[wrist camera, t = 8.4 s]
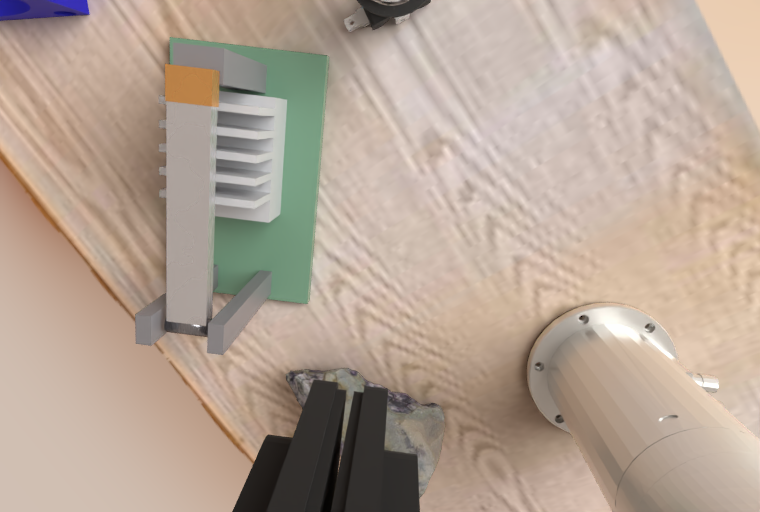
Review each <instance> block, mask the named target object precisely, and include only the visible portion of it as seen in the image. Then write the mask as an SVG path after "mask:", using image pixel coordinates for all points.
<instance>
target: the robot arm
mask: <svg viewBox="0 0 760 512" xmlns="http://www.w3.org/2000/svg"><path fill="white" fill-rule="evenodd" d="M582 315H583V317H582V318H579V317H580V316H582ZM538 362H539V363H538ZM536 363H538V364H536ZM527 382H528V388H529V390H530V393H531V396H532V398H533V400H534V402H535V404H536V406H537V408H538V409H539V411H540V412H541V413H542V414H543V415H544V417H545V418H546V419H547V420H549V421H550V422H551V423H552V424H553V425H555V426H556V427H558V428H560V429H562V430H564V431H566V432H568V433H571V434H572V436H573V438H574V440H575V442H576V444H577V446H578V448H579V450H580V451H581V453H582V455H583V457H584V459H585V461H586V463H587V465H588V467H589V468H590V470H591V472H592V474H593V476H594V478H595V480H596V482H597V484H598V486H599V487H600V489H601V491H602V493H603V495H604V497H605V499H606V501H607V503H608V504H609V506H610V508H611V510H612V512H760V439H759V438H758V437H756V436H755V435H754V434H753V433H752V432H751V431H750V430H749V429H748V428H746V427H745V426H744V425H743V424H742V423H741V422H740V421H739V420H737V419H736V418H735V417H734V416H733V415H732V414H731V413H730V412H729V411H727V410H726V407H725V405H724V404H723V403H722V402H720V401H716V400H715V399H714V398H713V397H712V396H711V395H710V394H709V393H707V392H712V393H714V392H717V390H718V388H719V382H718V379H717V378H716V377H715V376H712V375H705V374H692V373H691V372H690V371H689V370H688V369H687V368H686V367H684V366H683V365H682V364H681V363H680V362H679V361H678V354H677V351H676V348H675V344H674V342H673V340H672V339H671V337H670V335H669V334H668V332H667V331H666V330H665V329H664V328H663V327H662V326H661V325H660V324H659V323H658V322H657V321H656V320H655V319H653V318H652V317H651V316H650V315H648V314H646V313H644V312H643V311H641V310H639V309H637V308H634V307H631V306H628V305H625V304H618V303H610V302H609V303H594V304H589V305H585V306H581V307H578V308H576V309H573V310H571V311H569V312H566V313H565V314H563V315H562V316H560V317H559V318H557V319H555V320H554V321H553V322H552V323H551V324H550V325H549V326H548V327H546V328H545V329H544V331H543V332H542V333H541V335H540V336H539V337H538V338H537V340H536V342H535V344H534V346H533V348H532V350H531V352H530V355H529V359H528V363H527ZM346 392H347V390H342V389H338V382H331V381H323V380H316V379H314V380H313V383H312V386H311V388H310V391H309V394H308V397H307V400H306V402H305V405H304V408H303V411H302V414H301V416H300V419H299V422H298V425H297V428H296V430H295V433H294V436H293V438H289V437H282V436H274V435H267V436H266V438H265V440H264V442H263V444H262V446H261V448H260V451H259V453H258V455H257V458H256V460H255V462H254V464H253V467H252V469H251V471H250V473H249V476H248V478H247V480H246V482H245V485H244V487H243V489H242V491H241V494H240V496H239V498H238V500H237V503H236V505H235V507H234V509H233V512H420V506H419V478H418V456H417V454H411V453H404V452H396V451H388V450H384V447H385V432H386V417H387V401H388V389H385V388H378V387H370V386H364V392H357V391H354V394H353V399H352V404H351V410H350V415H349V420H348V425H347V430H346V436H345V441H344V446H343V451H342V457H341V462H340V467H339V458H340V449H341V439H342V430H343V421H344V412H345V402H346ZM338 467H339V472H338ZM337 476H338V477H337Z"/></svg>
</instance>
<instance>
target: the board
mask: <svg viewBox="0 0 760 512" xmlns="http://www.w3.org/2000/svg"><path fill="white" fill-rule="evenodd" d="M170 65H179V66H187V67H196V68H204V69H213V70H216V71H220V78H219V107H218V110H217V148H216V186H215V224H214V262H213V292H217V293H225V294H233V295H236V296H235V297H234V298H233V299H232V300H231V301H230V302H229V303H228V304H227V305H226V306H225V307H224V308H223V309H222V310H221V311H220V312H219V313H218V314H217V315H216V316H215V317H214V318H213V319H212V320H211V321H210V322H209V323H208V346H207V353H212V354H220V355H223V354H224V353H225V352H226V350H227V349H228V348H229V347H230V345H231V344H232V343H233V341H234V340H235V339H236V338H237V336H238V335H239V334H240V332H241V331H242V330H243V329H244V327H245V326H246V325H247V324H248V322H249V321H250V320H251V318H252V317H253V316H254V315H255V313H256V312H257V311H258V309H259V308H260V307H261V306H262V304H263V303H264V302H265V301H266V299H272V300H280V301H288V302H296V303H304V304H308V302H309V300H310V288H311V275H312V263H313V251H314V238H315V226H316V214H317V201H318V189H319V177H320V165H321V152H322V140H323V128H324V115H325V103H326V91H327V78H328V66H329V57H328V56H327V55H318V54H310V53H301V52H293V51H284V50H276V49H267V48H258V47H250V46H241V45H233V44H224V43H216V42H207V41H198V40H190V39H181V38H173V37H170ZM159 104H166V101H165V96H161V95H159ZM159 128H164V129H166V120H159ZM159 152H166V143H161V144H159ZM159 175H166V166H162V167H159ZM159 197H161V198H166V188H164V189H160V190H159ZM165 319H166V293H165V294H163V295H162V296H161V297H159V298H158V299H156V300H155V301H154V302H152V303H151V304H149V305H148V306H147V307H145V308H144V309H142V310H141V311H140V312H138V313H137V314H135V325H136V344H143V345H153V344H154V343H155V342H156V341H157V340H158V339H160V338H161V337H162V336H163V335H164V334H165V333H166V331H165V329H164V323H165Z"/></svg>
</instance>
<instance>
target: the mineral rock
mask: <svg viewBox="0 0 760 512" xmlns="http://www.w3.org/2000/svg"><path fill="white" fill-rule="evenodd" d="M314 379H316V380H323V381H331V382H338V389H342V390H347V392H346V402H345V412H344V421H343V430H342V439H341V449H340V455H341V457H342V451H343V446H344V441H345V436H346V430H347V425H348V420H349V415H350V410H351V404H352V399H353V394H354V391H357V392H364V386H370V387H378V388H384V387H383V386H381V385H378V384H373V383H371V382H369V381H367V380H365V379H364V378H363V377H362V375H361V374H360V373H358V372H357V371H354V370H350V369H349V368H342V369H334V370H329V371H318V370H308V369H305V370H295V371H290V372H289V373H288V374H286V380H287V382H288V383H289V385H290V387H291V389H292V390H293V392H294V394H295V396H296V398H297V401H298V402H299V404H300V406H302V409H303V408H304V405H305V402H306V400H307V397H308V394H309V391H310V388H311V386H312V383H313V380H314ZM385 389H387V388H385ZM444 418H445V417H444V412H443V410H442V408H441V407H440V406H439V405H437V404H435V403H431V404H426V405H421V404H419V403H418V402H416V401H415V400H414V399H412V398H410V397H409V396H408V395H407V394H406V393H398V392H391V391H390V390H388V401H387V417H386V432H385V447H384V450H388V451H396V452H404V453H411V454H417V456H418V478H419V498H420V497H421V496H422V495H423V494H424V492H425V490H426V488H427V485H428V482H429V480H430V478H431V476H432V474H433V472H434V470H435V468H436V465H437V463H438V460H439V456H440V452H441V447H442V441H443V436H444V430H445V422H444Z"/></svg>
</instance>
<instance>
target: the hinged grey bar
mask: <svg viewBox="0 0 760 512" xmlns="http://www.w3.org/2000/svg"><path fill="white" fill-rule="evenodd" d="M219 78H220V71H216V70H213V69H204V68H196V67H187V66H179V65H170V64H165V101H166V319H165V323H164V329H165V331H166V332H172V333H180V334H188V335H195V336H203V337H208V323H209V322H210V321H211V320H212V300H213V262H214V224H215V186H216V148H217V110H218V107H219Z"/></svg>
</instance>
